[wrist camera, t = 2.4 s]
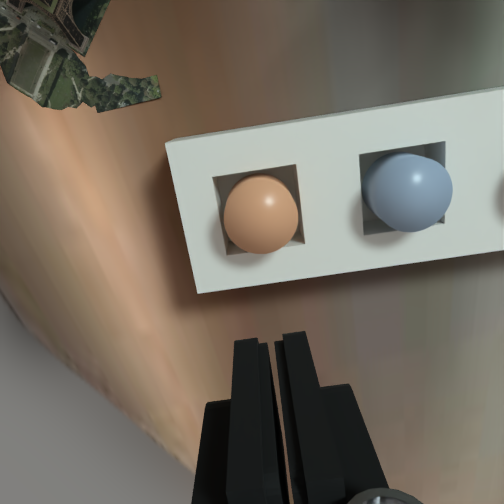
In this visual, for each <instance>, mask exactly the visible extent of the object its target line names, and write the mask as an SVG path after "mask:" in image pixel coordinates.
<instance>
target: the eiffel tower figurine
mask: <svg viewBox="0 0 504 504" xmlns="http://www.w3.org/2000/svg"><path fill="white" fill-rule="evenodd" d="M109 2H110V0H0V66H1V68H2V71H3V73H4V76H5V79H6V81H7V83H8V84H9V85H11V86H12V87H14V88H15V89H17V90H18V91H20V92H21V93H23V94H25V95H26V96H28V97H30V98H32V99H33V100H34V101H36V102H37V103H38V104H39V105H40V106H41V107H48V108H52V109H57V110H63V109H65V108H67V107H72V108H77V107H78V106H79V105H80V104H81V103H82V102H84V103H86V104H87V105H88V106H90V107H93V106H96V110H97V113H100V112H104V111H108V110H112V109H116V108H120V107H124V106H128V105H131V104H135V103H139V102H144V101H148V100H152V99H156V98H161V93H160V88H159V83H158V78H157V75H155V76H151V77H147V78H143V79H138V78H128V77H124V76H118V75H114V74H109V75H108V76H106V77H105V78H103V79H100V78H98V77H89V75H88V72H87V69H86V66H85V65H84V64H83V62H82V61H81V60H80V59H79V58H78V57H77V55H76V54H75V53H74V51H76V52H77V53H79V54H81V55H82V56H84V57H85V55H86V53H87V51H88V49H89V46H90V44H91V42H92V40H93V37H94V35H95V33H96V31H97V29H98V26H99V24H100V22H101V20H102V18H103V15H104V13H105V11H106V9H107V6H108V4H109ZM72 49H73V50H74V51H73V50H72Z"/></svg>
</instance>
